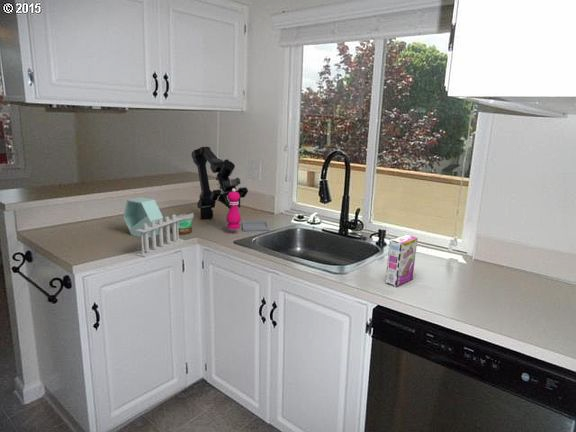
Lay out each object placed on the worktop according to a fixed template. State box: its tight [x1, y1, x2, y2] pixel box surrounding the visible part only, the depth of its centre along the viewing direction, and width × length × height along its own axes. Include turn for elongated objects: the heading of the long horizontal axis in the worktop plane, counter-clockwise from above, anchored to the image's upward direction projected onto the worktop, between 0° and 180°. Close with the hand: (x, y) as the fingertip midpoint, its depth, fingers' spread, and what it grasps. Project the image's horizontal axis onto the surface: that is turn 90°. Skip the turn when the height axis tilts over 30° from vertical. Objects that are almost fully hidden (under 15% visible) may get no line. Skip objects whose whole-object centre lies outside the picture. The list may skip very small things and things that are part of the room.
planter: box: [123, 196, 164, 239], centre depth 188 cm, size 17×8×21 cm
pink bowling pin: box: [225, 188, 242, 230], centre depth 194 cm, size 7×7×20 cm
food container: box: [169, 210, 195, 236], centre depth 193 cm, size 12×6×10 cm, turn 131°
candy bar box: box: [385, 234, 419, 288], centre depth 141 cm, size 11×5×16 cm, turn 133°
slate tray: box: [242, 220, 270, 232], centre depth 208 cm, size 13×13×2 cm
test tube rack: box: [135, 213, 184, 258], centre depth 171 cm, size 25×4×13 cm, turn 156°
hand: (234, 207), depth 193 cm, fingers closed on pink bowling pin, 5 cm apart
